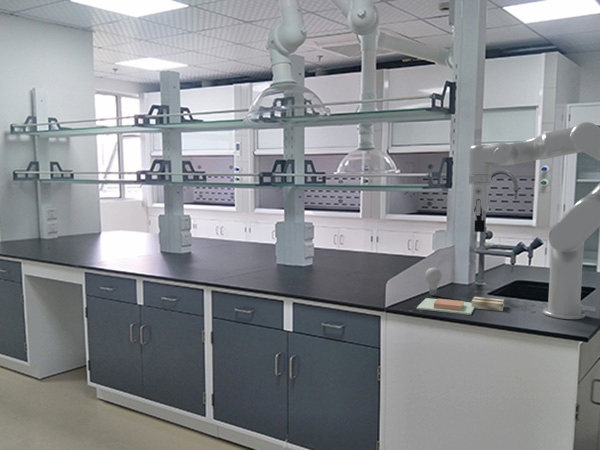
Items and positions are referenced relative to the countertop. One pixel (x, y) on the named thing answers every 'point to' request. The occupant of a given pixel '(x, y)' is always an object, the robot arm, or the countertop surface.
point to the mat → (429, 305)
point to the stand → (488, 303)
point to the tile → (449, 304)
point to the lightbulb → (433, 279)
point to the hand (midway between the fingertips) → (479, 231)
